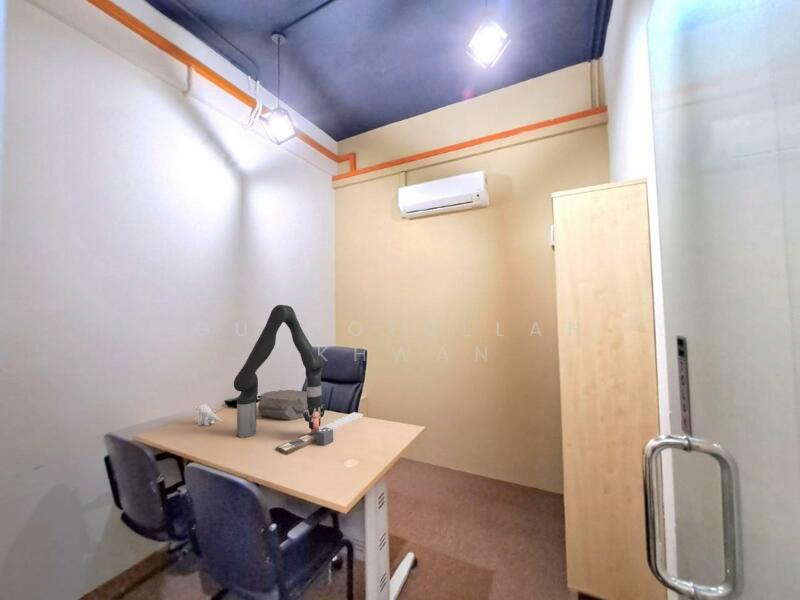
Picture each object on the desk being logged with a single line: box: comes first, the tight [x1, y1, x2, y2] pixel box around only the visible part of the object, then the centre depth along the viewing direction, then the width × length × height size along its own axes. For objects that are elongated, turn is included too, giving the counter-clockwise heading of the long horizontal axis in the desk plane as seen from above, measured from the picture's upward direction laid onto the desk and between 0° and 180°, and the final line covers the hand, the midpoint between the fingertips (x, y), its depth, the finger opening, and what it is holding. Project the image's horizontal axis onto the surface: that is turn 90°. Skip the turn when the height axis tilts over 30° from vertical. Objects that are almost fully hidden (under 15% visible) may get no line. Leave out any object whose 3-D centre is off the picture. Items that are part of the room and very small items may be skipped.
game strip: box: [276, 431, 316, 456], centre depth 151 cm, size 9×22×2 cm, turn 145°
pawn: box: [310, 411, 320, 433], centre depth 158 cm, size 5×5×11 cm
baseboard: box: [319, 410, 364, 431], centre depth 178 cm, size 30×3×10 cm
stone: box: [257, 389, 309, 421], centre depth 195 cm, size 37×26×15 cm
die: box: [315, 427, 334, 447], centre depth 151 cm, size 6×6×6 cm
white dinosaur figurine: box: [193, 403, 224, 427], centre depth 179 cm, size 7×24×11 cm, turn 70°
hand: (314, 427), depth 158 cm, fingers closed on pawn, 3 cm apart
